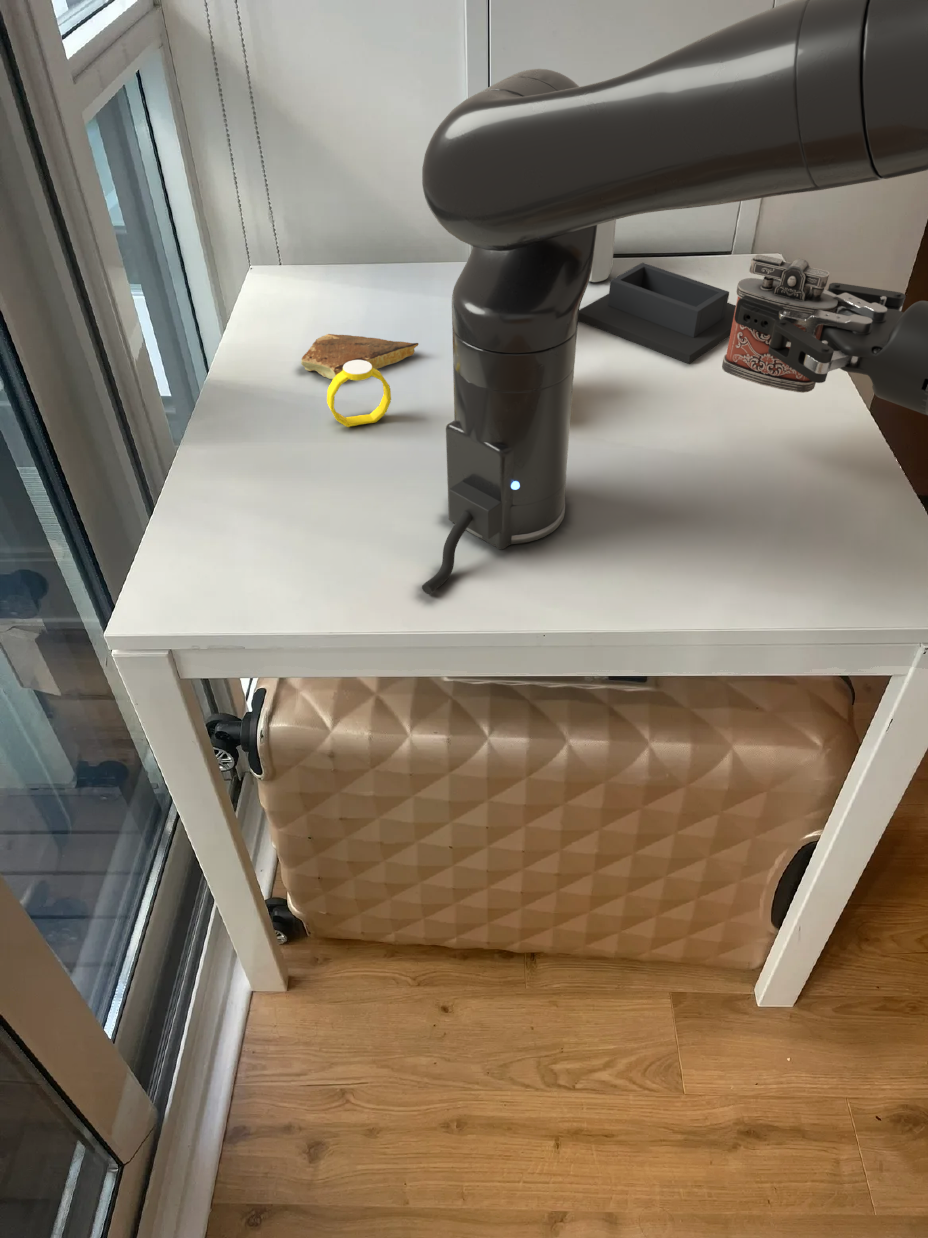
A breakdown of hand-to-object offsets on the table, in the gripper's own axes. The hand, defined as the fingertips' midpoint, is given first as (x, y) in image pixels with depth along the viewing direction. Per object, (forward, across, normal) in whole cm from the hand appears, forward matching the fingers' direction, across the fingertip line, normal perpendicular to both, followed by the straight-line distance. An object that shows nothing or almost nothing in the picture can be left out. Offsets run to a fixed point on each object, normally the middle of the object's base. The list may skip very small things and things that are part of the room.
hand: (752, 299), depth 78 cm
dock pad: (+18, -17, +14) cm, 29 cm away
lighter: (-3, 0, +6) cm, 7 cm away
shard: (+38, +12, +14) cm, 42 cm away
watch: (+28, +20, +14) cm, 37 cm away
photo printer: (+34, -21, +14) cm, 43 cm away
